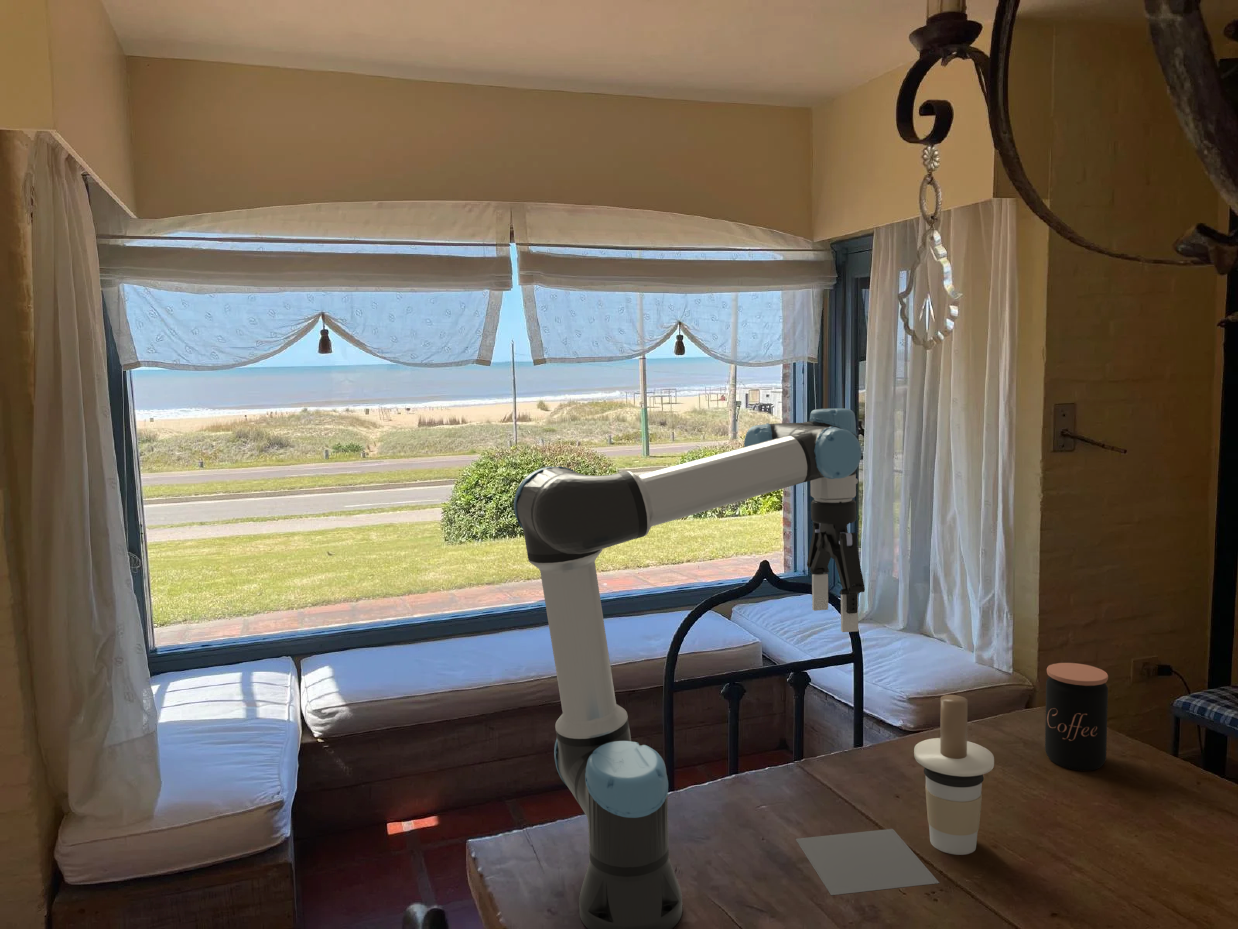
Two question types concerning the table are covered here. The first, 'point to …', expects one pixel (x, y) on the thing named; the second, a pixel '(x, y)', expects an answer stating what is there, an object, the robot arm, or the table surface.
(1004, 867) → the table surface
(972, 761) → the lid
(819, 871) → the mat
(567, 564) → the robot arm
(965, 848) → the coffee cup
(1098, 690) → the coffee jar
